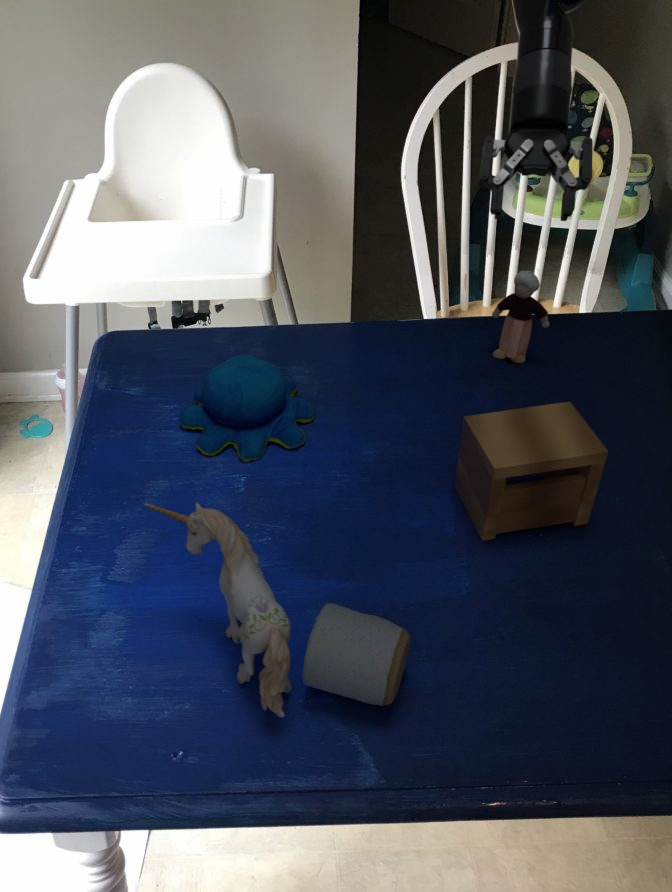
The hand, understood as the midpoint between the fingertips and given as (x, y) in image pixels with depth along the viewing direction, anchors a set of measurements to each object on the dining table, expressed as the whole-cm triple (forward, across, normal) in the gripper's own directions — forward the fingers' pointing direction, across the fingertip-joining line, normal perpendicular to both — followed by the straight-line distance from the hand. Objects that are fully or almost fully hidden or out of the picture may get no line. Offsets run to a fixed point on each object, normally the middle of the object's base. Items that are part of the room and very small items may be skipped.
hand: (530, 217), depth 109 cm
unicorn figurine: (+57, +28, +33) cm, 72 cm away
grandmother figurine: (+17, 0, -6) cm, 18 cm away
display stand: (+39, 0, +16) cm, 42 cm away
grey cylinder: (+57, +16, +33) cm, 67 cm away
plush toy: (+30, +34, +7) cm, 46 cm away
